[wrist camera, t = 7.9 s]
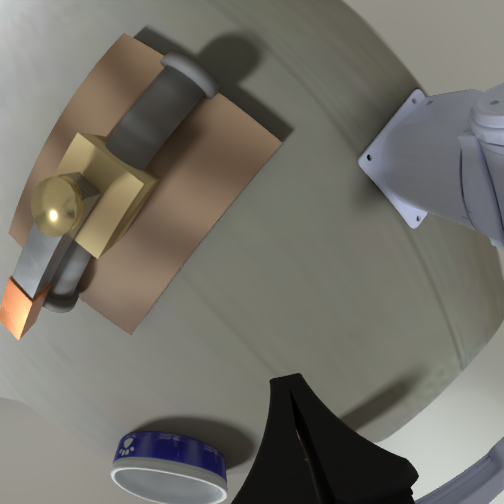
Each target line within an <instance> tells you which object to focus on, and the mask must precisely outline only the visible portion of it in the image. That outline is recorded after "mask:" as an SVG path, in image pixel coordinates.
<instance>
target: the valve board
mask: <svg viewBox="0 0 504 504" xmlns="http://www.w3.org/2000/svg"><path fill="white" fill-rule="evenodd" d="M220 89H221V87H220V85H219V83H218V82H217V81H216V79H215V78H214V77H213V76H212V75H211V74H210V73H209V72H208V71H206V70H205V69H204V68H203V67H202V66H200V65H199V64H198V63H196V62H195V61H194V60H192V59H191V58H189V57H187V56H186V55H184V54H182V53H180V52H177V51H174V50H170V51H169V52H168V53H167V54H166V55H165V56H163V55H162V54H160V53H158V52H157V51H155V50H153V49H152V48H150V47H148V46H147V45H145V44H143V43H141V42H140V41H138V40H136V39H134V38H132V37H131V36H129V35H127V34H125V33H123V34H122V35H121V36H120V37H119V38H118V40H117V41H116V42H115V43H114V44H113V45H112V46H111V47H110V49H109V50H108V51H107V52H106V53H105V54H104V56H103V57H102V58H101V59H100V60H99V62H98V63H97V64H96V65H95V67H94V68H93V69H92V71H91V72H90V73H89V75H88V76H87V77H86V79H85V80H84V81H83V83H82V84H81V85H80V87H79V88H78V90H77V91H76V93H75V94H74V96H73V97H72V99H71V100H70V102H69V103H68V105H67V106H66V108H65V109H64V111H63V113H62V114H61V116H60V117H59V119H58V121H57V123H56V124H55V126H54V128H53V130H52V131H51V133H50V135H49V137H48V139H47V140H46V142H45V144H44V146H43V148H42V150H41V152H40V154H39V156H38V158H37V160H36V162H35V165H34V167H33V169H32V171H31V173H30V176H29V178H28V180H27V183H26V185H25V188H24V190H23V193H22V195H21V198H20V200H19V203H18V206H17V209H16V212H15V215H14V218H13V221H12V224H11V227H10V230H9V234H10V235H11V236H12V237H13V238H14V239H15V240H16V241H17V242H18V243H19V244H20V245H21V246H22V247H24V245H25V242H26V240H27V238H28V235H29V233H30V231H31V228H32V226H33V224H34V222H35V221H34V219H33V216H32V210H31V202H32V196H33V193H34V190H35V189H36V187H37V185H38V184H39V183H40V182H41V181H43V180H44V179H46V178H50V177H56V176H59V175H62V174H68V173H75V172H80V173H81V174H82V175H83V176H84V177H85V178H86V179H87V180H88V181H89V182H90V183H91V184H92V185H94V186H95V187H96V188H97V189H98V190H99V191H100V192H101V193H102V194H101V196H100V197H99V198H98V200H97V201H96V203H95V204H94V206H93V207H92V209H91V211H90V212H89V214H88V215H87V217H86V218H85V220H84V222H83V223H82V225H81V226H80V228H79V230H78V231H77V233H76V235H75V236H74V238H73V240H72V242H71V243H70V245H69V247H68V249H67V251H66V252H65V254H64V256H63V258H62V260H61V262H60V264H59V265H58V267H57V269H56V271H55V273H54V275H53V277H52V279H51V281H50V283H49V284H50V285H51V288H50V290H49V292H48V294H47V296H46V298H45V301H44V303H43V305H42V306H43V307H45V308H46V309H48V310H50V311H53V312H57V313H65V312H68V311H70V310H72V309H73V308H74V306H75V304H76V302H77V300H78V297H79V298H80V299H82V300H83V301H84V302H85V303H87V304H88V305H89V306H91V307H92V308H93V309H95V310H96V311H97V312H99V313H100V314H101V315H103V316H104V317H106V318H107V319H108V320H110V321H111V322H113V323H114V324H115V325H117V326H118V327H120V328H121V329H123V330H124V331H126V332H127V333H129V334H130V335H132V334H133V332H134V331H135V329H136V328H137V326H138V325H139V324H140V322H141V321H142V319H143V318H144V317H145V315H146V314H147V312H148V311H149V310H150V308H151V307H152V305H153V304H154V303H155V301H156V300H157V299H158V297H159V296H160V294H161V293H162V292H163V290H164V289H165V288H166V286H167V285H168V284H169V282H170V281H171V280H172V278H173V277H174V276H175V274H176V273H177V272H178V270H179V269H180V268H181V266H182V265H183V264H184V262H185V261H186V260H187V258H188V257H189V256H190V255H191V253H192V252H193V251H194V249H195V248H196V247H197V246H198V244H199V243H200V242H201V240H202V239H203V238H204V237H205V235H206V234H207V233H208V232H209V230H210V229H211V228H212V227H213V225H214V224H215V223H216V222H217V220H218V219H219V218H220V217H221V215H222V214H223V213H224V212H225V210H226V209H227V208H228V207H229V205H230V204H231V203H232V202H233V201H234V199H235V198H236V197H237V196H238V195H239V193H240V192H241V191H242V190H243V189H244V187H245V186H246V185H247V184H248V183H249V181H250V180H251V179H252V178H253V177H254V175H255V174H256V173H257V172H258V171H259V170H260V168H261V167H262V166H263V165H264V164H265V163H266V161H267V160H268V159H269V158H270V157H271V156H272V154H273V153H274V152H275V151H276V150H277V149H278V148H279V146H280V145H281V144H282V142H281V141H279V140H278V139H277V138H276V137H275V136H274V135H272V134H271V133H270V132H269V131H268V130H266V129H265V128H264V127H263V126H262V125H260V124H259V123H258V122H257V121H255V120H254V119H253V118H252V117H250V116H249V115H248V114H246V113H245V112H244V111H243V110H241V109H240V108H239V107H237V106H236V105H235V104H234V103H232V102H231V101H230V100H228V99H227V98H225V97H224V96H223V95H221V94H220V93H219V90H220Z"/></svg>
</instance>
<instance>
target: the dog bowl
mask: <svg viewBox="0 0 504 504" xmlns="http://www.w3.org/2000/svg"><path fill="white" fill-rule="evenodd" d="M111 477H112V479H113V480H114V482H115V483H116V484H117V485H119V486H120V487H121V488H123V489H124V490H126V491H128V492H130V493H132V494H134V495H136V496H138V497H141V498H144V499H147V500H150V501H153V502H157V503H161V504H217V503H219V502H222V501H223V500H225V499H226V497H227V496H228V490H227V489H228V488H227V478H226V467H225V460H224V457H223V456H222V454H221V453H220V452H219V451H217V450H216V449H215V448H213V447H212V446H210V445H208V444H206V443H204V442H201V441H199V440H196V439H193V438H190V437H186V436H182V435H177V434H172V433H165V432H154V431H142V432H134V433H130V434H127V435H125V436H124V437H123V438H122V439H121V440H120V442H119V445H118V448H117V451H116V454H115V458H114V461H113V465H112V469H111Z"/></svg>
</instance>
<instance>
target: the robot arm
mask: <svg viewBox="0 0 504 504" xmlns="http://www.w3.org/2000/svg"><path fill="white" fill-rule="evenodd" d="M412 99H413V101H414V103H413V102H412ZM368 154H369V155H370V160H368V159H367V155H368ZM358 164H359V166H360V167H361V168H362V169H363V171H364V172H365V173H366V174H367V175H368V176H369V177H370V178H371V179H372V181H373V182H374V183H375V184H376V185H377V186H378V187H379V189H380V190H381V191H382V192H383V193H384V195H385V196H386V197H387V198H388V199H389V201H390V202H391V203H392V204H393V205H394V207H395V208H396V209H397V210H398V212H399V213H400V214H401V216H402V217H403V218H404V219H405V221H406V222H407V223H408V225H409V226H410V227H411V228H414V229H415V228H417V227H418V226H419V224H420V223H421V222H422V220H423V219H424V218H425V216H426V215H427V213H430V214H433V215H436V216H439V217H441V218H444V219H447V220H450V221H452V222H455V223H457V224H460V225H463V226H465V227H468V228H470V229H473V230H475V231H478V232H480V233H482V234H485V235H486V236H488V237H489V239H490V241H491V244H492V245H494V246H496V247H498V248H500V249H502V250H504V83H503V84H500V85H497V86H495V87H493V88H491V89H489V90H487V91H485V92H482V91H478V90H463V91H457V92H450V93H445V94H439V95H434V96H429V97H426V96H425V95H424V94H423V93H422V91H421V90H419V89H416V90H414V91H413V92H412V93H411V94H410V96H409V97H408V98H407V99H406V101H405V102H404V103H403V105H402V106H401V107H400V108H399V109H398V111H397V112H396V113H395V114H394V116H393V117H392V118H391V119H390V121H389V122H388V123H387V124H386V126H385V127H384V128H383V129H382V131H381V132H380V133H379V134H378V135H377V137H376V138H375V139H374V140H373V142H372V143H371V144H370V145H369V146H368V148H367V149H366V150H365V151H364V152H363V154H362V155H361V156H360V157H359V159H358ZM417 216H418V219H417V220H416V218H417ZM270 389H271V394H270V406H269V413H268V419H267V423H266V428H265V432H264V436H263V439H262V442H261V445H260V448H259V451H258V454H257V456H256V459H255V461H254V464H253V466H252V468H251V470H250V472H249V474H248V476H247V478H246V480H245V482H244V484H243V486H242V487H241V489H240V491H239V492H238V494H237V495H236V497H235V498H234V500H233V501H232V503H231V504H488V503H490V502H491V501H492V500H493V499H494V498H495V497H496V496H497V495H498V494H500V492H502V491H503V490H504V437H503V438H502V439H501V440H500V441H498V442H497V443H496V445H494V446H493V447H492V448H491V449H490V451H489V452H488V453H487V454H486V455H485V456H484V457H482V458H481V459H480V460H479V461H477V462H476V463H475V464H473V465H472V466H471V467H469V468H468V469H466V470H465V471H464V472H462V473H461V474H459V475H458V476H456V477H455V478H453V479H452V480H450V481H449V482H447V483H445V484H444V485H442V486H441V487H439V488H437V489H436V490H434V491H432V492H430V493H429V494H427V495H425V496H423V497H422V498H420V499H418V500H416V501H414V500H413V497H412V494H413V491H412V489H411V486H412V485H413V484H414V483H415V482H416V481H417V479H418V477H419V475H418V473H417V471H416V469H415V468H414V467H413V465H412V464H411V463H410V462H409V461H408V460H407V459H406V458H403V457H400V456H398V455H395V454H393V453H391V452H388V451H387V450H385V449H383V448H381V447H379V446H377V445H375V444H374V443H372V442H370V441H369V440H367V439H365V438H364V437H362V436H360V435H359V434H358V433H356V432H355V431H353V430H352V429H351V428H349V427H348V426H347V425H346V424H344V423H343V422H342V421H341V420H340V419H339V418H337V417H336V416H335V415H334V414H333V413H332V412H331V411H330V410H329V409H328V408H327V407H326V406H325V405H324V404H323V402H322V401H321V400H320V399H319V398H318V397H317V396H316V395H315V393H314V392H313V391H312V389H311V388H310V387H309V385H308V384H307V383H306V381H305V380H304V378H303V376H302V375H301V374H300V373H296V374H292V375H288V376H283V377H278V378H273V379H271V380H270ZM296 430H297V431H296ZM297 432H298V435H299V438H300V440H301V443H302V446H303V448H304V451H305V454H306V456H307V459H308V462H309V465H310V469H311V473H312V477H313V480H314V484H315V488H316V491H315V488H314V485H313V482H312V479H311V476H310V473H309V470H308V467H307V464H306V461H305V458H304V454H303V451H302V448H301V445H300V441H299V438H298V435H297ZM316 492H317V494H316ZM317 496H318V497H317Z"/></svg>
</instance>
